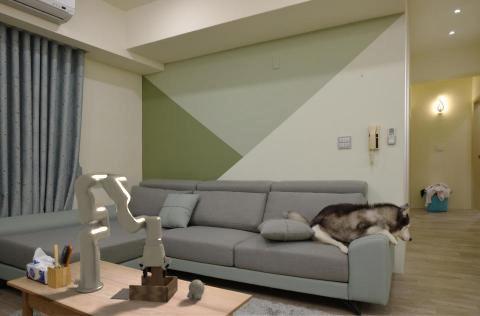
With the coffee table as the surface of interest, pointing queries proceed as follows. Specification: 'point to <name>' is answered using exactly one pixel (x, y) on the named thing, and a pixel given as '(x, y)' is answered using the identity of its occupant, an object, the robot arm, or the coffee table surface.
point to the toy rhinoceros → (196, 289)
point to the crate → (153, 290)
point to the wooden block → (156, 276)
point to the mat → (122, 294)
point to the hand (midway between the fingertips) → (154, 277)
